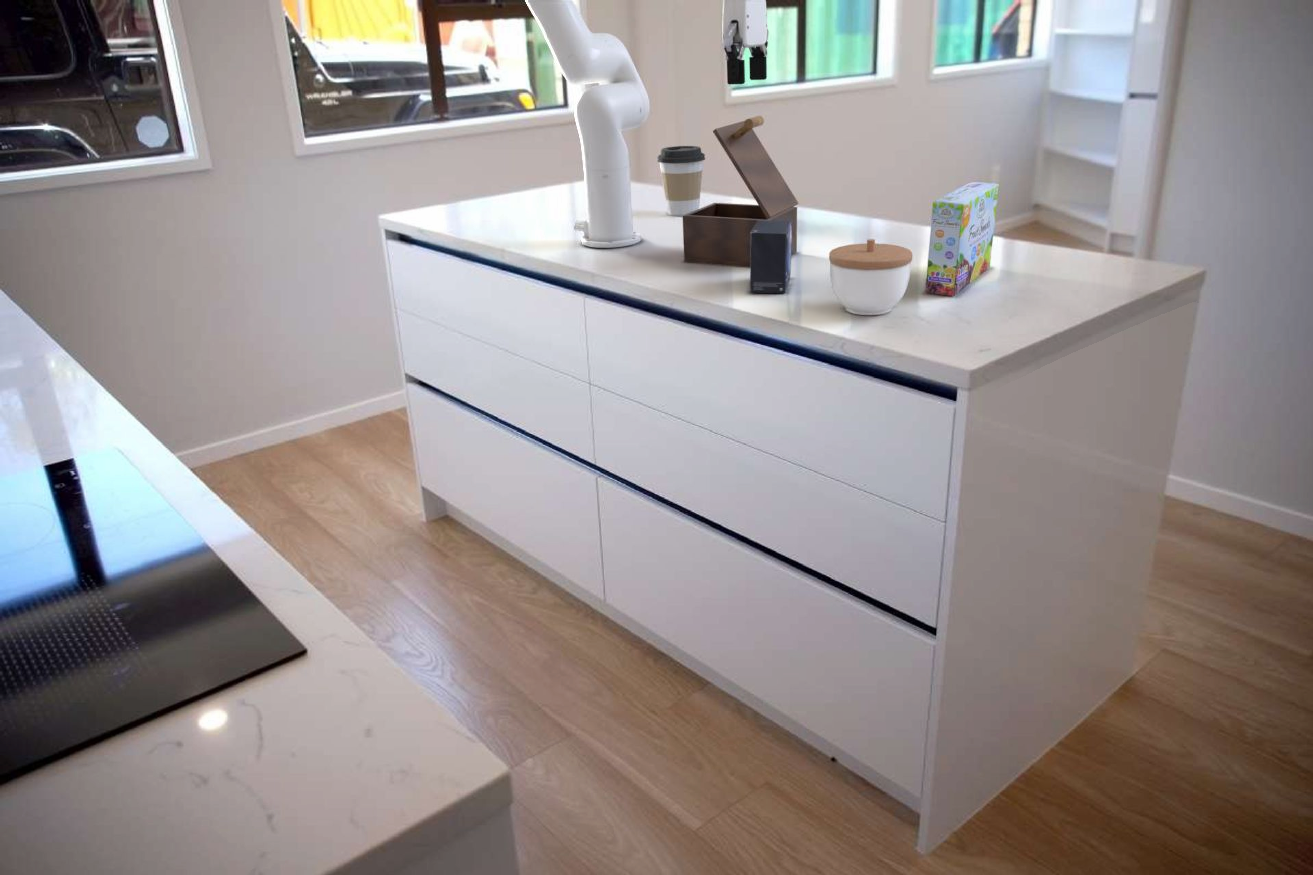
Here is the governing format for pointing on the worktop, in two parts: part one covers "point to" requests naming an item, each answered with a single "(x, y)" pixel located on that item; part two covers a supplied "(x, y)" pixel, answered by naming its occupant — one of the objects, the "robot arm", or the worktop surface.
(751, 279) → the small box
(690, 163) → the coffee cup
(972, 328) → the worktop surface
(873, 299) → the lidded bowl
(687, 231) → the chest
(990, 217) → the snack box
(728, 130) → the lid
